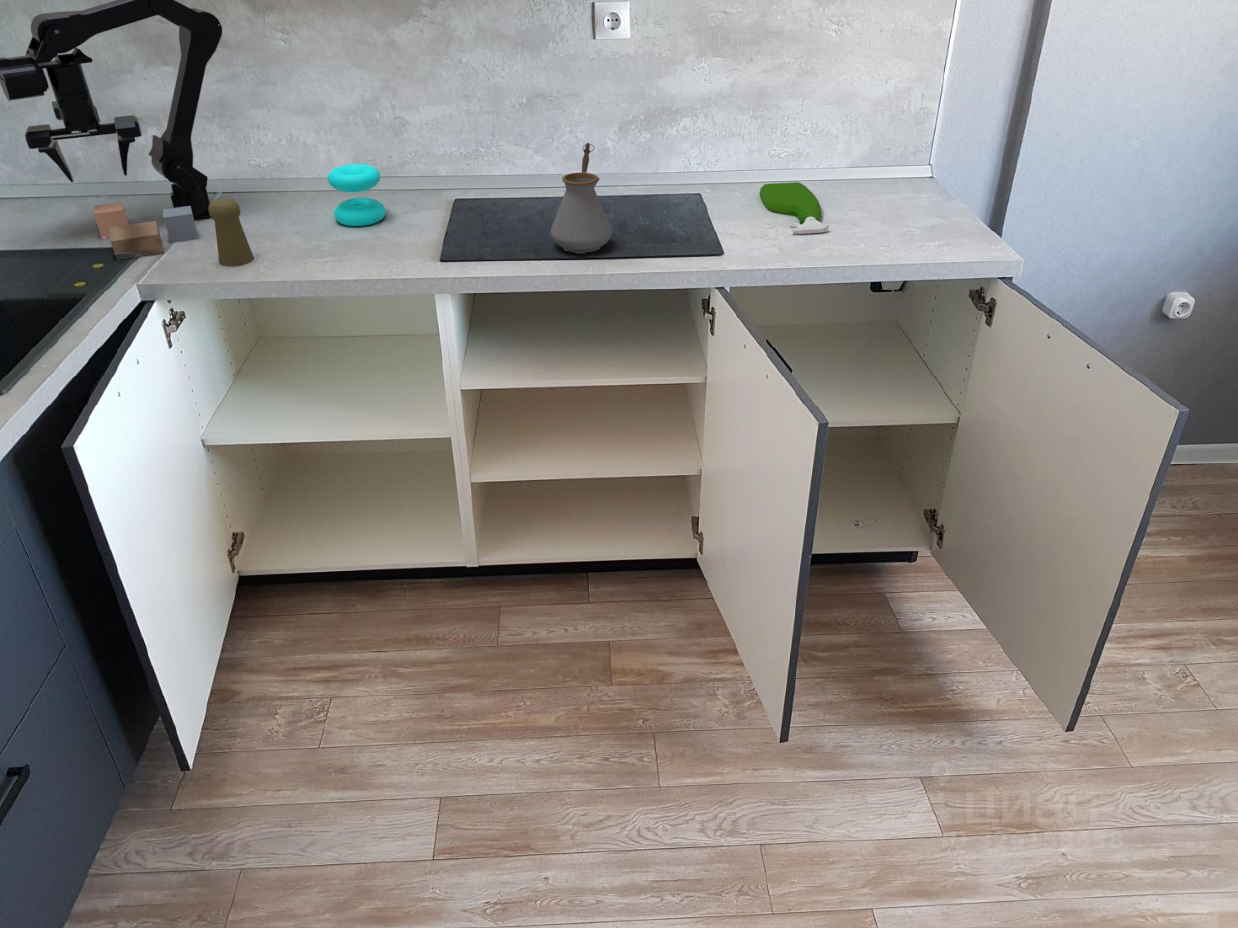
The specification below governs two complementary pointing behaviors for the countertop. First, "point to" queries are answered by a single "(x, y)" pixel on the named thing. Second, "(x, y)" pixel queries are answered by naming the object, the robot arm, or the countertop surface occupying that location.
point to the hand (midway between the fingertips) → (99, 178)
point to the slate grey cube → (180, 224)
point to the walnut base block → (137, 239)
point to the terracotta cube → (109, 217)
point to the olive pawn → (230, 233)
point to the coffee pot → (581, 213)
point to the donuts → (356, 181)
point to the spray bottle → (794, 205)
